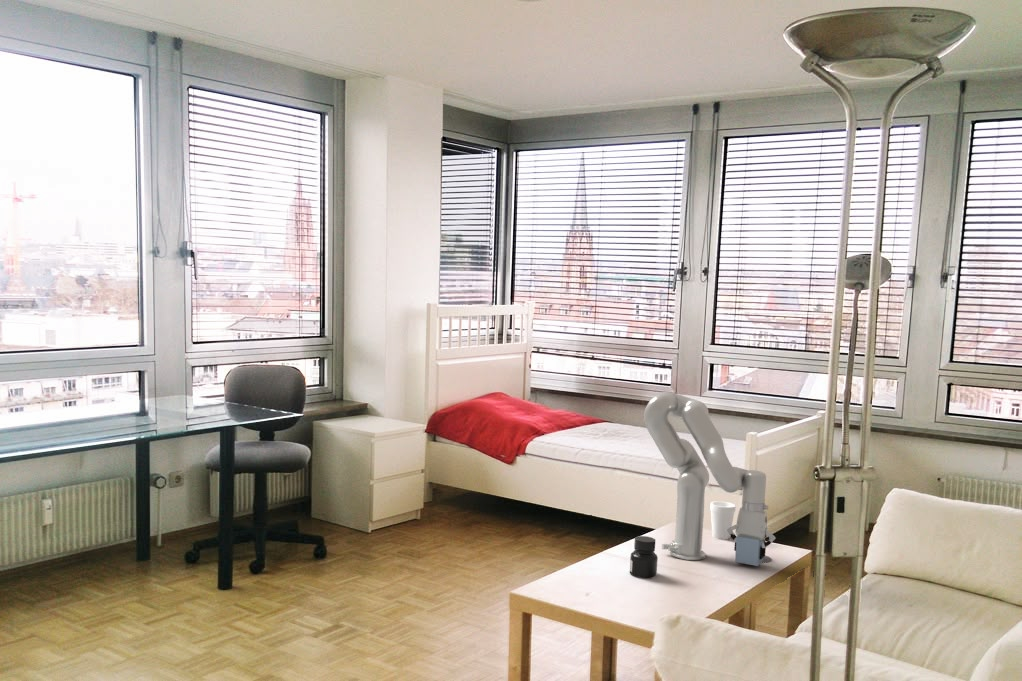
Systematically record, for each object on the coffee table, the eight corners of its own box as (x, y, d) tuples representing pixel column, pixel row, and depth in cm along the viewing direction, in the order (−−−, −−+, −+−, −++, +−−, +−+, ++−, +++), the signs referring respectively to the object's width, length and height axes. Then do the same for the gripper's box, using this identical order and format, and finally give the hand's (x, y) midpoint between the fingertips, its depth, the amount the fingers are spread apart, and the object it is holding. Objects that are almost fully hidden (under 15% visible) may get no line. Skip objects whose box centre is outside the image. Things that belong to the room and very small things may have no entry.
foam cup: (703, 534, 333) (705, 502, 333) (722, 532, 337) (724, 500, 337) (719, 541, 325) (721, 508, 324) (738, 539, 329) (740, 506, 328)
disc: (752, 563, 300) (752, 562, 300) (737, 554, 310) (737, 553, 310) (777, 562, 303) (777, 561, 303) (762, 553, 312) (762, 552, 312)
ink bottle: (640, 568, 289) (642, 533, 288) (662, 575, 283) (664, 539, 282) (623, 574, 282) (625, 538, 281) (645, 581, 276) (648, 545, 275)
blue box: (757, 566, 293) (759, 541, 292) (735, 561, 296) (736, 536, 296) (762, 560, 299) (764, 536, 299) (741, 556, 303) (742, 531, 303)
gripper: (780, 508, 296) (777, 558, 297) (731, 500, 304) (727, 548, 305) (775, 513, 289) (772, 563, 290) (725, 504, 298) (721, 553, 299)
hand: (749, 555), depth 298 cm, fingers closed on blue box, 7 cm apart
